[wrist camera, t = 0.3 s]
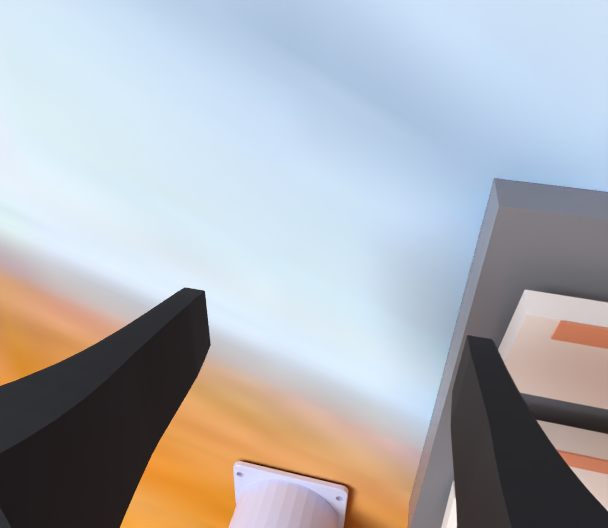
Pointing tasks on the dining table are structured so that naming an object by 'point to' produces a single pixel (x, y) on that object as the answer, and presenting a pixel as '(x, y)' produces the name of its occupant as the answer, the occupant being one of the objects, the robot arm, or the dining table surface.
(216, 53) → the dining table surface
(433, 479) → the grey flat board
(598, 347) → the white tile
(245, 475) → the robot arm
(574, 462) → the block
